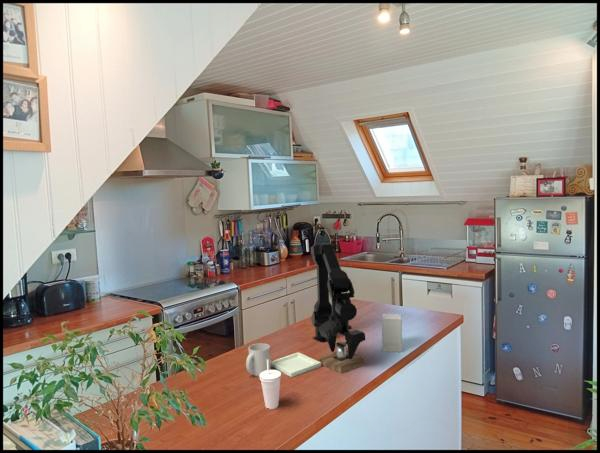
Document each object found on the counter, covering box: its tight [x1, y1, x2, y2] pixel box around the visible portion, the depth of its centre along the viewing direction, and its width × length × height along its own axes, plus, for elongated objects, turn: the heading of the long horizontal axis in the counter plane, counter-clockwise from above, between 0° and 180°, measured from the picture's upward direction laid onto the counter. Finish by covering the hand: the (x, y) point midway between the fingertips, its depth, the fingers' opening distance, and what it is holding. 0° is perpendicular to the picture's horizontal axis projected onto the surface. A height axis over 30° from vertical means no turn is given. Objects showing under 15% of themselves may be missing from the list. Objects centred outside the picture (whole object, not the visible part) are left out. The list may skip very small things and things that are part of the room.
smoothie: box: [258, 359, 282, 410], centre depth 133 cm, size 6×6×14 cm
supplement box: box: [381, 313, 403, 353], centre depth 173 cm, size 7×7×13 cm
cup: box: [245, 342, 272, 377], centre depth 156 cm, size 7×10×9 cm
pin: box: [335, 341, 347, 361], centre depth 161 cm, size 3×3×8 cm
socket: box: [319, 350, 365, 375], centre depth 161 cm, size 11×11×2 cm
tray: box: [270, 351, 322, 378], centre depth 161 cm, size 13×13×2 cm
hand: (341, 355), depth 161 cm, fingers open, 9 cm apart
